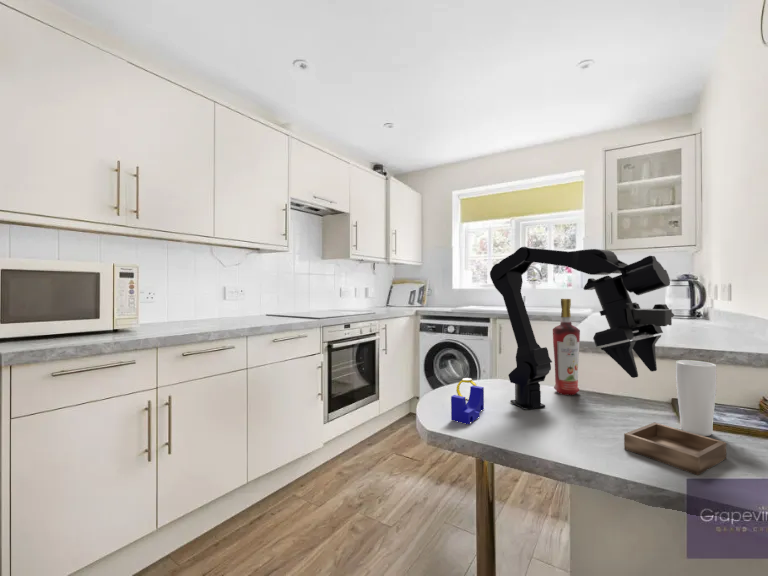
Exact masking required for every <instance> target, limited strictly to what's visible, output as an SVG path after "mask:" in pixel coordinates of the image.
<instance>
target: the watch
mask: <svg viewBox="0 0 768 576" xmlns="http://www.w3.org/2000/svg"><path fill="white" fill-rule="evenodd" d="M462 383H470V384H471V386H478V385H477V383H476V382H474V380H473V379H472V378H471V377H464V378H462V379H461V380H460V381H459V382H458V384H457V385H456V393H457V394H456V395H457V396H463V395H462V393H461V391H460V385H461V384H462Z"/></svg>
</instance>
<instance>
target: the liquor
mask: <svg viewBox="0 0 768 576" xmlns="http://www.w3.org/2000/svg"><path fill="white" fill-rule="evenodd" d="M571 306H572V299H571V298H560V307H561V314H560V324H559V325H557V326H554V327H553V328H552V343H553V344H552V345H553V346H552V347H553V357H554V358H553V359H554V377H555V378H554V382H555V385H554V386H553V388H554V390H555V391H556V392H557V393H558V394H560V395H564V396H574V395H576V394H577V393H579V392H580V388H579V360H580V359H579V358H580V344H581V343H580V340H581V330H580V328H578V327H577V326H575V325H573V323H572V316H571Z"/></svg>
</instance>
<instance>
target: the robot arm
mask: <svg viewBox="0 0 768 576" xmlns="http://www.w3.org/2000/svg"><path fill="white" fill-rule="evenodd" d="M533 263H538V264H546V265H554V266H561V267H568V268H570V269H574V270H575V271H578V272H581V273H584V274H587V275H592V276H593V275H594V276H597V275H598V276H599V275H600V276H602V277H599V278H596V279H595V278H588V279H587V282H586V283H585V285H584V286H583V291H593V290H595V291H594V292H595V293H596V297H597V299H598V302H599V304H600V307H601V309H602V310H599V314H600V316H605V319H606V321H607V324H608V326H609V328H606V329H604V330H601V331H598V332H595V333H594V335H593V339H592V340H593V342H594V344H595V347H597V348H598V347H600V350H601V351H603V352H604V353H606V354H607V355H608V356H609V357H610V358H611V359H612V360H613V361H615V362H616V363H617V365H619V366H620V367H621V368H622V370H624V371H625V372H626V373H627V374H628V376H630V377H631V378H638V377H639V374H638V372H639V371H638V369H637V365H636V360H635V356H634V354H633V353H634V352H635V354H636V355H637V356H638V358H639V360H641V361H642V362H643V364H644V365H645V367H646V368H647V370H649V371H650V372H656V371H657V370H658V367H657V358H656V355H657V354H656V344H657V342H658V341H659V340H660V339H661V338H662V334H663V333H664V332H663V329H662V327H667V326H668V325H669V326H672V321H673V320H672V319H673V318H674V317H675V314H674V313H673V309H670V308H669V306H668V305H667V304H666V303H664V304H663V303H661V304H660V303H657V304H656V303H655V304H654V305H653V307H652V308H641V306H640V304H639V303H637V302H633V300H632V298H631V296H630V294H631V293H633V294H634V295H636V296H641V295H643V294H647V293H651V292H655V291H656V290H660V289H664V288H667V287H669V286H670V285H671V280H670V279H671V278H670V276H669V273H668V271H667V270H666V269H665V268H664V267H663V266H662V264H661V262H659V261H658V260H657V258H656V256H655V255H647V256H645V257H644V258H642V259H640V260H638V261H635V262H632V263H630V264H628V263H626V262H623V261H622V260H620V259H618V257H617V255H616V254H615V252H613V251H612V250H607V249H600V248H599V249H598V248H590V249H589V248H588V249H580V250H573V251H568V250H567V251H564V250H558V249H557V250H555V249H544V248H535V247H532V246H522V247H519V248H518V249H517V250H516V251H514V252H513V253H511V254H509V255H508V256H506V257H505V258H503V259H502V260H501V261H499V262H497V263H495V264H494V265H493V266H492V267H491V270H490V271H489V277H490V280H491V282H492V284H493V287H494V288H495V290H496V291H498V293H500V295H501V296H502V298H503V302H504V304H505V309H506V312H507V314H508V319H509V321H510V325H511V329H512V331H513V335H514V338H515V342H516V345H517V349H516V354H515V363H516V367H515V368H513V370H511V371H510V372H509V373H508V378H509V382H510V383H511V384H514V395H515V396H514V398H515V399H511V400H510V403H511V404H513V405H516V406H517V407H519V408H520V409H521V408H522V409H524V410H529V409H531V410H532V409H539V408H546V404H544V403H542V402H541V401H542V398H541V397H542V395H541V394H542V393H541V392H542V391H541V384H540V382H545V380H546V376H548V374H550V371H551V369H552V364H551V363H553V361H552V359H551V358H550V353H549V349H548V348H547V347H546V346H545V347H541V346H540V345H539V343H538V342H537V340H536V337H535V334H534V330H533V326H532V324H531V320H530V317H529V315H528V311H527V308H526V305H525V301H524V298H523V296H522V287H523V275H524V274H525V273H526V272H527V271H528V270H529V269H530V267H531V265H532V264H533ZM611 274H619V275H616V276H614V277H612V276H610V275H611ZM602 346H604V347H602ZM633 351H634V352H633Z"/></svg>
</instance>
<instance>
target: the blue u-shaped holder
mask: <svg viewBox="0 0 768 576" xmlns="http://www.w3.org/2000/svg"><path fill="white" fill-rule="evenodd" d="M469 387H470V389H469V395H468V396H469V397H468V398H469V399H468V400H466V398H467V397H466V396H463V395H462V396H458V394H453V395H451V396H450V401H451V402H450V404H451V406H450V407H451V408H450V410H451V411H450V413H451V416H450V417H451V418H450V419H451V420H455V421H458V422H457V423H459V422H462V423H461V424H463V423H466V424H465V425H467V424H469V425H471V424H470V422H472V423H473V421H474V420H475V421H476V419H477V418H478V417H480V413H481V412H482V411H481V410H483V409H484V410H485V400H484V399H485V395H484V394H485V391H484V389H485V388H484V386H479V385H477V386H473V385H471V386H469ZM484 410H483V411H484ZM480 411H481V412H480ZM478 419H479V418H478ZM478 419H477V420H478ZM455 421H454V422H455ZM475 421H474V422H475Z"/></svg>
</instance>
